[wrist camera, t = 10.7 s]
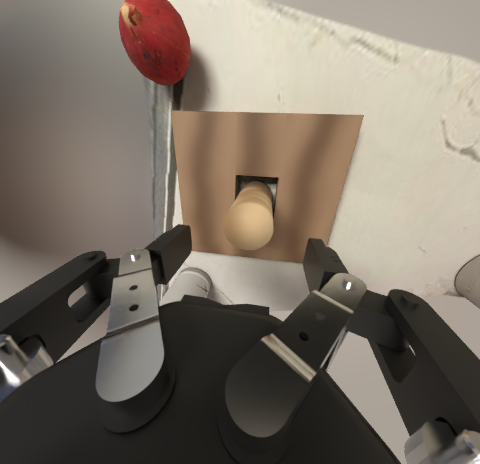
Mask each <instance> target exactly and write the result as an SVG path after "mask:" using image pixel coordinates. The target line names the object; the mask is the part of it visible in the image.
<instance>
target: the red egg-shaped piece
mask: <svg viewBox="0 0 480 464" xmlns="http://www.w3.org/2000/svg"><path fill="white" fill-rule="evenodd" d="M119 29H120V35H121V40H122V43H123V45H124V48H125V50H126V52H127V54H128V57H129V58H130V60H131V61H132V63H133V64H134V65H135V66H136V68H137V69H138V70H139V71H140V72H141V73H142V74H143V75H144V76H145V77H147V78H148V79H150V80H152V81H154V82H155V83H157V84H160V85H173V84H175V83H177V82H178V81H180V80H181V79H182V78H183V77H184V75H185V73H186V71H187V69H188V66H189V61H190V56H191V49H190V38H189V36H188V33H187V30H186V28H185V25H184V22H183V20H182V18H181V16H180V14H179V13H178V12H177V11H176V10H175V8H174V7H173V6H172V5H171V3H170V2H169V1H167V0H126V1H125V2H124V3H123V6H122V8H121V9H120V17H119Z"/></svg>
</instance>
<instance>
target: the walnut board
mask: <svg viewBox="0 0 480 464" xmlns="http://www.w3.org/2000/svg"><path fill="white" fill-rule="evenodd" d="M171 115H172V124H173V134H174V143H175V152H176V162H177V171H178V180H179V190H180V199H181V208H182V218H183V225H189V226H190V228H191V238H192V251H198V252H207V253H216V254H225V255H234V256H243V257H252V258H261V259H270V260H279V261H288V262H297V263H303V260H304V255H305V250H306V246H307V242H308V239H309V238H316V239H322V240H323V242H324V244H325V246H327V243H328V239H329V236H330V232H331V229H332V225H333V222H334V218H335V215H336V211H337V208H338V204H339V201H340V197H341V194H342V190H343V187H344V183H345V180H346V176H347V173H348V169H349V166H350V162H351V159H352V155H353V152H354V148H355V145H356V141H357V138H358V134H359V131H360V127H361V124H362V120H363V117H364V115H336V114H293V113H250V112H207V111H171ZM239 175H246V176H262V177H278V179H277V187H276V195H275V203H274V211H273V234H272V237H271V239H270V240H269V242H268V243H267V244H266V245H264V246H263V247H261V248H259V249H256V250H243V249H240V248H237V247H235V246H234V245H232V244H231V243H230V242H229V241H228V239H227V238H226V236H225V234H224V230H223V222H224V219H225V216H226V215H227V213H228V211H229V210H230V208H231V206H232V205H233V203H234V202H235V200H236V198H237V197H238V176H239Z"/></svg>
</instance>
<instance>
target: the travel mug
mask: <svg viewBox="0 0 480 464" xmlns="http://www.w3.org/2000/svg"><path fill="white" fill-rule="evenodd" d="M210 288H211V280H210V278H209V276H208V275H207V274H206V273H205V272H203V271H202V270H200V269H197V268H186V269H184V270H182V271H181V272H180V274H179V275H178V276H177V278H176V279H175V281H174V282H173V284H172V285H171V287H170V288H169V289H168V291H167V292H166V294H165V295H164V297H163V298H162V299H161V301H160V302H159V303H160V306H161V305H164V304H167V303H170V302H175V301H181V299H182V298H183V296H184V294H185V295H192V296H199V297H205V298H207V295H208V293H209V290H210Z"/></svg>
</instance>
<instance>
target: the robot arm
mask: <svg viewBox="0 0 480 464" xmlns="http://www.w3.org/2000/svg"><path fill="white" fill-rule="evenodd" d="M191 251H192V238H191V228H190V226H189V225H180V224H178V225H177V226H176V227H174V228H173V229H172V230H170V231H167V232H165V233H163V234H162V235H161V236H159V238H157V239H156V240H155V241H153V242H152V243H151V244H149V245H148V246H147V247H146V248H145V249H133V250H130V251H127V252H125V253H124V254H122V256H121V257H120V258H117V259H107V256H106V253H105V252H103V251H91V252H87V253H84V254H81V255H79V256H77V257H76V258H74V259H72V260H71V261H69V262H68V263H66V264H64V265H63V266H61V267H59V268H58V269H56V270H54V271H53V272H51V273H49V274H48V275H46V276H44V277H43V278H41V279H40V280H38V281H36V282H35V283H33V284H31V285H30V286H28V287H26V288H25V289H23V290H21V291H20V292H18V293H16V294H15V295H13V296H12V297H10V298H8V299H7V300H5V301H3V302H2V303H0V464H401V463H400V462H399V460H398V459H397V457H396V456H395V455H394V454H393V452H392V451H391V450H390V448H389V447H388V446H387V445H386V444H385V442H384V441H383V440H382V439H381V437H380V436H379V435H378V434H377V433H376V431H375V430H374V429H373V428H372V426H371V425H370V424H369V423H368V422H367V420H366V419H365V418H364V417H363V416H362V415H361V413H360V412H359V411H358V409H357V408H356V407H355V406H354V405H353V403H352V402H351V401H350V400H349V398H348V397H347V396H346V395H345V394H344V392H343V391H342V390H341V389H340V387H339V386H338V385H337V384H336V383H335V381H333V379H332V378H331V377H330V375H329V374H328V373H327V371H328V369H329V367H330V365H331V362H332V361H333V359H334V357H335V355H336V353H337V351H338V349H339V348H340V346H341V344H342V342H343V340H344V338H345V336H346V335H347V333H348V331H350V332H352V333H355V334H357V335H359V336H362V337H364V338H367V339H368V341H369V343H370V346H371V348H372V350H373V352H374V355H375V357H376V359H377V362H378V364H379V366H380V369H381V371H382V373H383V375H384V378H385V380H386V383H387V385H388V387H389V389H390V392H391V394H392V396H393V399H394V401H395V403H396V406H397V408H398V410H399V412H400V415H401V417H402V419H403V422H404V424H405V426H406V428H407V431H408V433H409V435H410V438H409V439H408V440H407V441H406V443H405V457H406V460H407V464H480V360H479V359H478V357H477V356H476V355H475V354H474V353H473V352H472V351H471V350H470V349H469V348H468V347H467V345H466V344H465V343H464V342H463V341H462V340H461V339H460V338H459V337H458V336H457V335H456V334H455V332H454V331H453V330H452V329H451V328H450V327H449V326H448V325H447V324H446V323H445V322H444V320H443V319H442V318H441V317H440V316H439V315H438V314H437V313H436V312H435V311H434V310H433V308H432V307H431V306H430V305H429V304H428V303H427V302H425V301H424V300H423V299H421V298H420V297H418V296H416V295H414V294H412V293H410V292H407V291H404V290H398V289H394V290H391V291H390V292H389V294H388V295H387V296H384V295H381V294H378V293H375V292H372V291H369V290H367V286H366V284H365V283H364V282H363V281H362V280H360V279H359V278H357V277H355V276H353V275H350V274H349V273H348V271H347V269H346V268H345V266H344V265H343V263H342V261H341V260H340V258H339V256H338V255H337V253H336V252H335V251H334V250H333V249H331V248H330V247H326V246H325V244H324V242H323V240H322V239H316V238H309V239H308V242H307V246H306V250H305V255H304V260H303V268H304V272H305V276H306V279H307V283H308V287H309V291H310V294H309V296H308V297H307V298H306V299H305V300H304V301H303V302H302V303H301V304H300V305H299V306H298V307H297V308H296V309H295V310H294V311H293V312H292V313H291V314H290V315H289V316H288V317H287V318H286V319H285V320H284V321H281V320H279V319H278V318H276V317H274V316H272V315H269V307H265V306H258V305H251V304H237V305H222V304H220V303H217V302H215V301H212V300H210V299H207V298H205V297H199V296H192V295H185V294H184V296H183V298H182V299H181V301H175V302H170V303H167V304H164V305H161V306H160V303H159V298H158V292H157V287H156V286H157V285H158V284H164V285H167V284H168V282H169V281H170V280H171V278H172V277H173V276H174V274H175V273H176V272H177V271H178V269H179V268H180V267H181V265H182V264H183V263H184V261H185V260H186V259H187V257H188V256H189V255H190V253H191ZM455 283H456V288H457V290H458V292H459V293H460V294H461V295H463V296H464V297H465V298H467V299H468V300H469V301H470V302H472V303H473V304H474V305H476V306H477V307H478V308H480V256H478V257H476V258H475V259H473V260H471V261H470V262H469V263H467V264H466V265H465V266H464V267H463V268H462V269H461V270H460V272H459V274H458V275H457V277H456V282H455ZM81 285H83V287H84V289H85V291H86V294H85V295H84V296H83V297H82V298H80V299H79V300H78V301H77V302H76V303H75V304H73V305H72V306H71V307H69V305H68V298H69V296H70V295H71V294H72V293H73V292H74V291H75V290H76V289H78V288H79V287H80V286H81ZM108 306H110V311H109V319H108V326H107V333H106V336H104V337H102V338H101V339H99V340H97V341H95V342H94V343H91V344H90V345H88V346H86V347H84V348H82V349H81V350H79V351H77V352H75V353H74V354H72V355H70V356H68V357H67V358H64V359H63V360H61V361H59V362H57V361H58V360H59V359H60V358H61V357H62V355H63V354H64V353H65V352H66V351H67V350H68V349H69V348H70V347H71V346H72V345H73V344H74V343H75V342H76V341H77V340H78V338H79V337H80V336H81V335H82V334H83V333H84V332H85V331H86V330H87V329H88V328H89V327H90V326H91V325H92V324H93V323H94V321H95V320H96V319H97V318H98V317H99V316H100V315H101V314H102V313H103V312H104V311H105V310H106V309H107V307H108ZM409 345H411V347H412V349H413V350H414V353H415V355H414V353H413V352H412V350H411V349H410V347H409ZM415 356H416V357H415ZM56 362H57V363H56Z"/></svg>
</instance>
